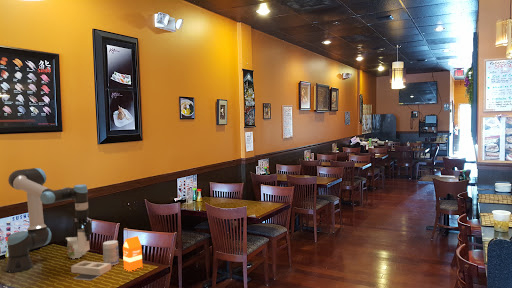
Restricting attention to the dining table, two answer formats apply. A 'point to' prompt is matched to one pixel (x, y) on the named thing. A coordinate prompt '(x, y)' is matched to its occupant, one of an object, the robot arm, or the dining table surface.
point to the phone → (86, 277)
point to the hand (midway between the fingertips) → (83, 245)
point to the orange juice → (132, 253)
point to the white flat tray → (91, 268)
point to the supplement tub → (111, 252)
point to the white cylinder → (82, 240)
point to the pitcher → (73, 248)
